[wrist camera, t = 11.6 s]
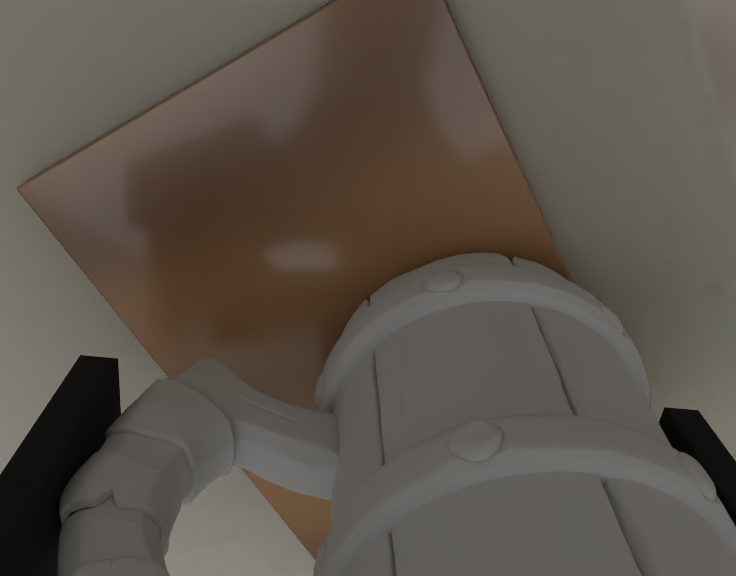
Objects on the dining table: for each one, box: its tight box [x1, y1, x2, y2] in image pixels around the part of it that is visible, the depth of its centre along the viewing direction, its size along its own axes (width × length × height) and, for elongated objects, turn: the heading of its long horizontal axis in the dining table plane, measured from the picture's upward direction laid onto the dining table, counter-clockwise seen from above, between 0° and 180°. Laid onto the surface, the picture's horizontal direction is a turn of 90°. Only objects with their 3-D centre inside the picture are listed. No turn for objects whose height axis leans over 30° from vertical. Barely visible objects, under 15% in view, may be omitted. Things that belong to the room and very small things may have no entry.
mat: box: [17, 0, 572, 560], centre depth 18 cm, size 16×10×1 cm, turn 28°
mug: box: [57, 253, 736, 576], centre depth 12 cm, size 8×12×12 cm, turn 81°
